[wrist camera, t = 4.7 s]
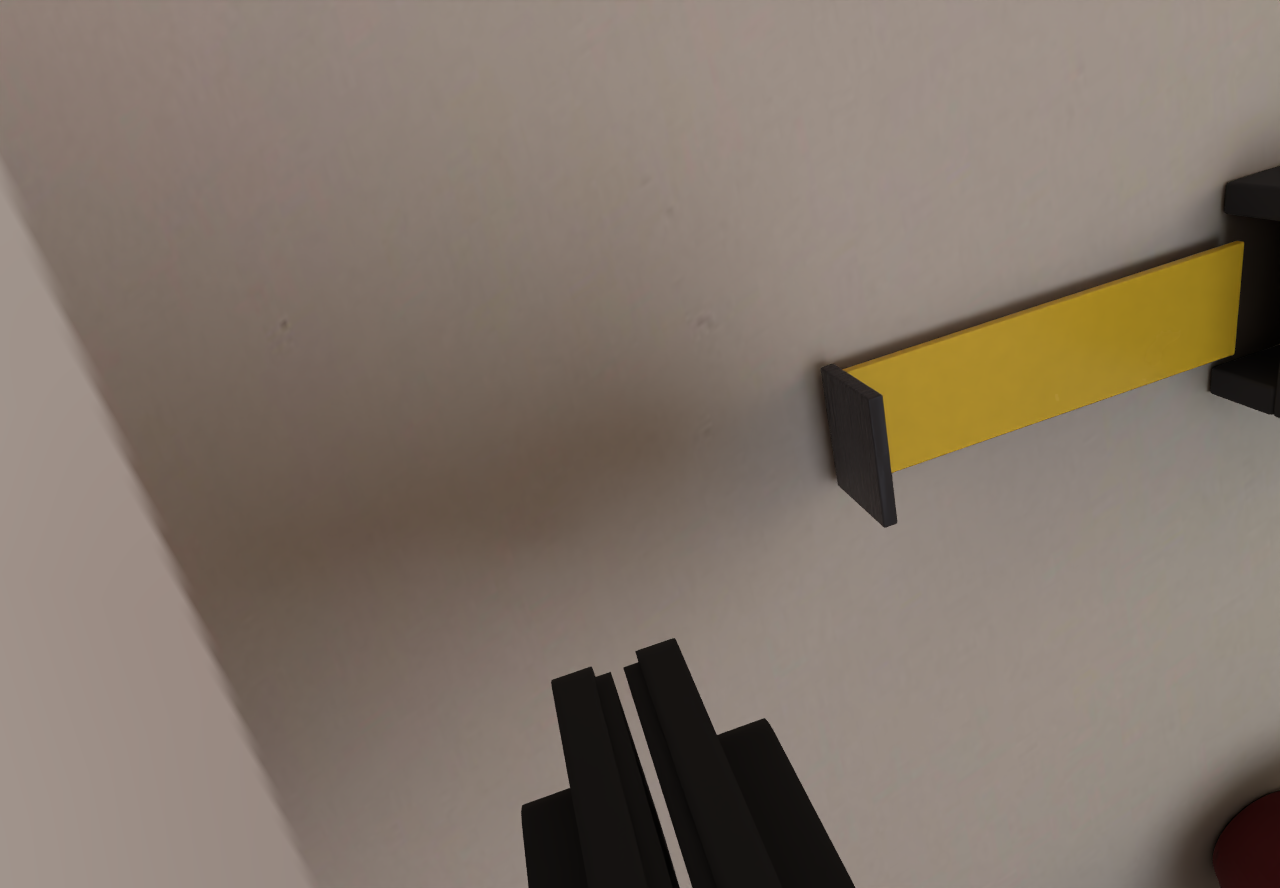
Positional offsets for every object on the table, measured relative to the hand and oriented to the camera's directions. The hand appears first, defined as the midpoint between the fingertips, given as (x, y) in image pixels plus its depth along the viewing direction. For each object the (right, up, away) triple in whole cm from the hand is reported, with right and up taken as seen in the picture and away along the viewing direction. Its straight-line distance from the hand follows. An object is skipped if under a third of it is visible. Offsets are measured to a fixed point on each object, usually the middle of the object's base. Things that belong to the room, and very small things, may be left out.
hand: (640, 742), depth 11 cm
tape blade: (+9, +6, +7) cm, 13 cm away
